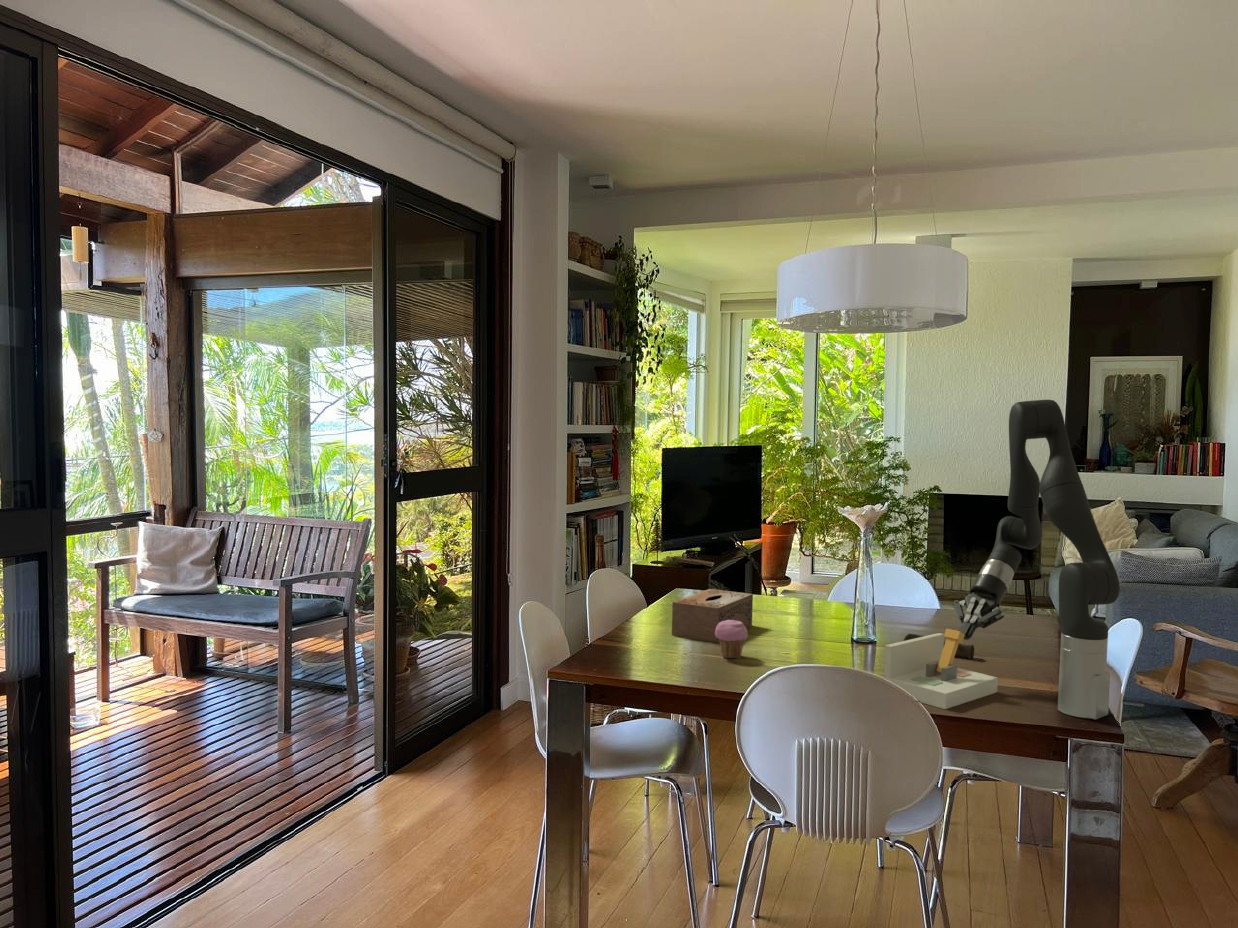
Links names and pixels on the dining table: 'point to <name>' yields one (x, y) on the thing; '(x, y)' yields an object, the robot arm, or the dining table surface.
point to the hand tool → (961, 650)
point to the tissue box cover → (709, 613)
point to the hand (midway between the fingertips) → (963, 637)
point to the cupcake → (731, 637)
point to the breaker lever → (950, 648)
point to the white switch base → (933, 673)
